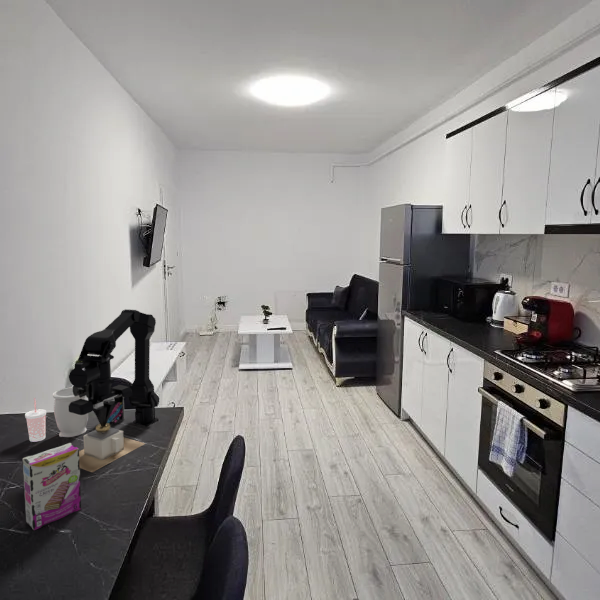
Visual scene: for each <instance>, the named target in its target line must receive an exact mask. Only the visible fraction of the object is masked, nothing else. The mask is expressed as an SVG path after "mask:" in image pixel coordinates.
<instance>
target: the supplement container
mask: <svg viewBox="0 0 600 600" xmlns="http://www.w3.org/2000/svg"><path fill="white" fill-rule="evenodd" d="M114 399H115V401H117V402H118V404H116V405H115V407H114V409H113V411H112V412H111V414H110V416H109V419H108V421H107V423H109V424H110V426H111V425H117V424H121V423H123V422H124V421H125V400H124V399H125V398H124V397H122V395H119V396H116V397H114Z"/></svg>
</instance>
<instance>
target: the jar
mask: <svg viewBox="0 0 600 600" xmlns="http://www.w3.org/2000/svg"><path fill="white" fill-rule="evenodd" d="M52 397H53V399H54V403H53V413H54V415H53V416H54V419H55V423H56V426H57V429H58V430H59V431H60V432H59V433H58V434H59V435H58V436H59V437H60V438H61V437H64V438H71V437H77V436H80V435H82V434H85V433H86V431H87V430H88V429H87V424H88V421H89V413H87V414H85V415H78V414H75V413H71V412H69V404H70V403H71V402H73V401H76V400H79V399H84V400H89V398H87V397H86V396H83V397H81V398H80V397H79V395H78V396H74V394H73V386H71V387H64V388H60V389H59V390H56V391H54V392H53V393H52Z"/></svg>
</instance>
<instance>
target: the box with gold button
mask: <svg viewBox="0 0 600 600" xmlns="http://www.w3.org/2000/svg"><path fill="white" fill-rule="evenodd" d="M82 437H83V449H84V454H85V455H88V456H91V457H94V458H97V459H100V460H104V459H106V458H108V457H110V456H112V455H114V454H116V453H118V452H120V451H122V450H123V449H124V440H123V437H124V430H120V429H118V428H114V427H111V426H110V430H108V431H106V432H104V433H102V432H97V431H96V429H94V430H92V431H90V432H87V433H86V434H84V435H83V436H82Z"/></svg>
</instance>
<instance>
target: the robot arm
mask: <svg viewBox="0 0 600 600" xmlns="http://www.w3.org/2000/svg"><path fill="white" fill-rule="evenodd" d="M156 321H157V320H156V318H155V317H154V316H153V314H150V313H148V314H147V313H144V312H141V311H139V310H137V309H126V308H125V309H122V311H121V312H120V314H119V315H118V316H117V317H115V319H114V320H112V322H111V323H109V324H108V325H107V326H106V327H105V328H104V329H102V330H100V331H97V332H94V333H92V334H90V335H89V336H87V337H86V339H85V341H84V343H83V345H82V348H81V351H80V354H79V356H78V361H77V363H75V364H74V368H73V369H71V370H70V372H69V375H68V379H69V382H70V384H71V385H72V387H73V394H74V396H78V395H79V397H80V398H81V397H83V396H86V397H87V398H88V400H84V399H79V400H76V401H73V402H71V403H70V404H69V412H71V413H75V414H78V415H85V414H87V413H92V412H93V413H94V415H95V416H96V418H97V421H98V422H99V423H98V424H100V425H101V426H105V425H106V423H107V421H108V419H109V416H110V414H111V412H112V411H113V409H114V407H115V405H116V404H118V402H117V401H115V399H114V397H116V396H119V395H122V397H124V399H127V398H128V400H129V404H130V406H131V407H132V408H133V407H135V411H134V417H135V418H134V420H132V423H133V424H138V425H140V426H144V427H147V426H149V425H151V424H153V423H155V422H157V421H159V418H158V417H156V408H158V407H159V404H160V397H159V396H158V395H157V393H156V392H155V385H154V384H153V382H152V381H151V379H150V350H151V349H150V345H151V344H150V343H151V342H150V339H151V337H152V336H153V334H154V332H155V328H156V325H157V322H156ZM128 329H129V331H130V332H129V333H130V334H131V335H132V338H134V380H133V382H132V384H131V385H129V386H127V385H122V384H118V385H115V386H113V387H112V384H113V383H115V379H114V378H112V373H111V372H112V371H111V360H113V359H114V358H115V356H114V355H113V354H112V352H113V351H114V350H115V348H116V347H117V340H118V339H119V338H120V337H121V336H122V335H123V334H124V333H125V332H126V331H127V330H128ZM90 398H91V399H90ZM156 420H157V421H156Z"/></svg>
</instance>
